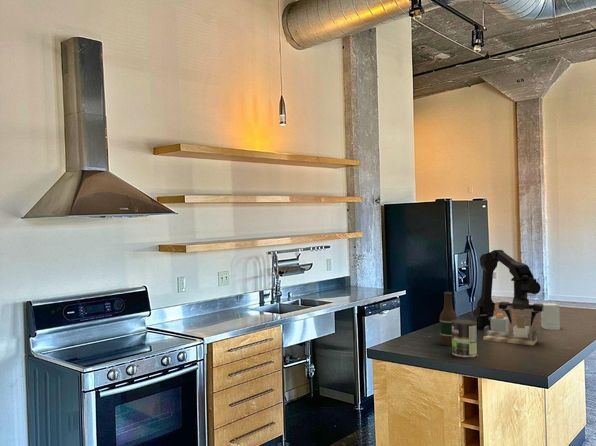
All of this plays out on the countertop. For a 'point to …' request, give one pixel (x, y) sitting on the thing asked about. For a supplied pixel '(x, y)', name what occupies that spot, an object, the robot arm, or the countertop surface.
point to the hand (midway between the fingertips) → (521, 324)
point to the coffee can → (464, 338)
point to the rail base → (509, 337)
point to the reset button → (499, 315)
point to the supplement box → (550, 316)
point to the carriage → (521, 328)
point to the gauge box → (499, 324)
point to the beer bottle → (447, 320)
